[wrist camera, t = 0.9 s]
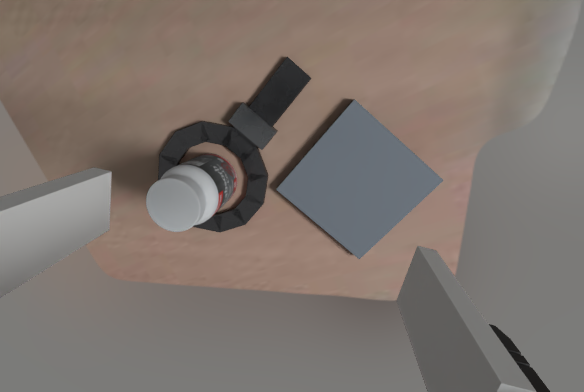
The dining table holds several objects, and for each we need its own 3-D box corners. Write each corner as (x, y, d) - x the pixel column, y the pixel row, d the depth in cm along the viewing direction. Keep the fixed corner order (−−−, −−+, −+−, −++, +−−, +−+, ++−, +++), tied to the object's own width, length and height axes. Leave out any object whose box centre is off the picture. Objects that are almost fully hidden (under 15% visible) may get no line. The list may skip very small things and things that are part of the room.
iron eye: (142, 182, 37) (137, 185, 36) (252, 25, 31) (249, 22, 30) (224, 248, 38) (221, 251, 37) (345, 109, 32) (345, 109, 31)
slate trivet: (277, 187, 35) (276, 189, 34) (353, 99, 32) (354, 99, 31) (358, 255, 37) (359, 259, 36) (440, 177, 33) (443, 180, 32)
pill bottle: (243, 199, 36) (213, 235, 27) (195, 205, 37) (150, 242, 27) (232, 148, 35) (196, 167, 25) (182, 156, 35) (130, 177, 26)
